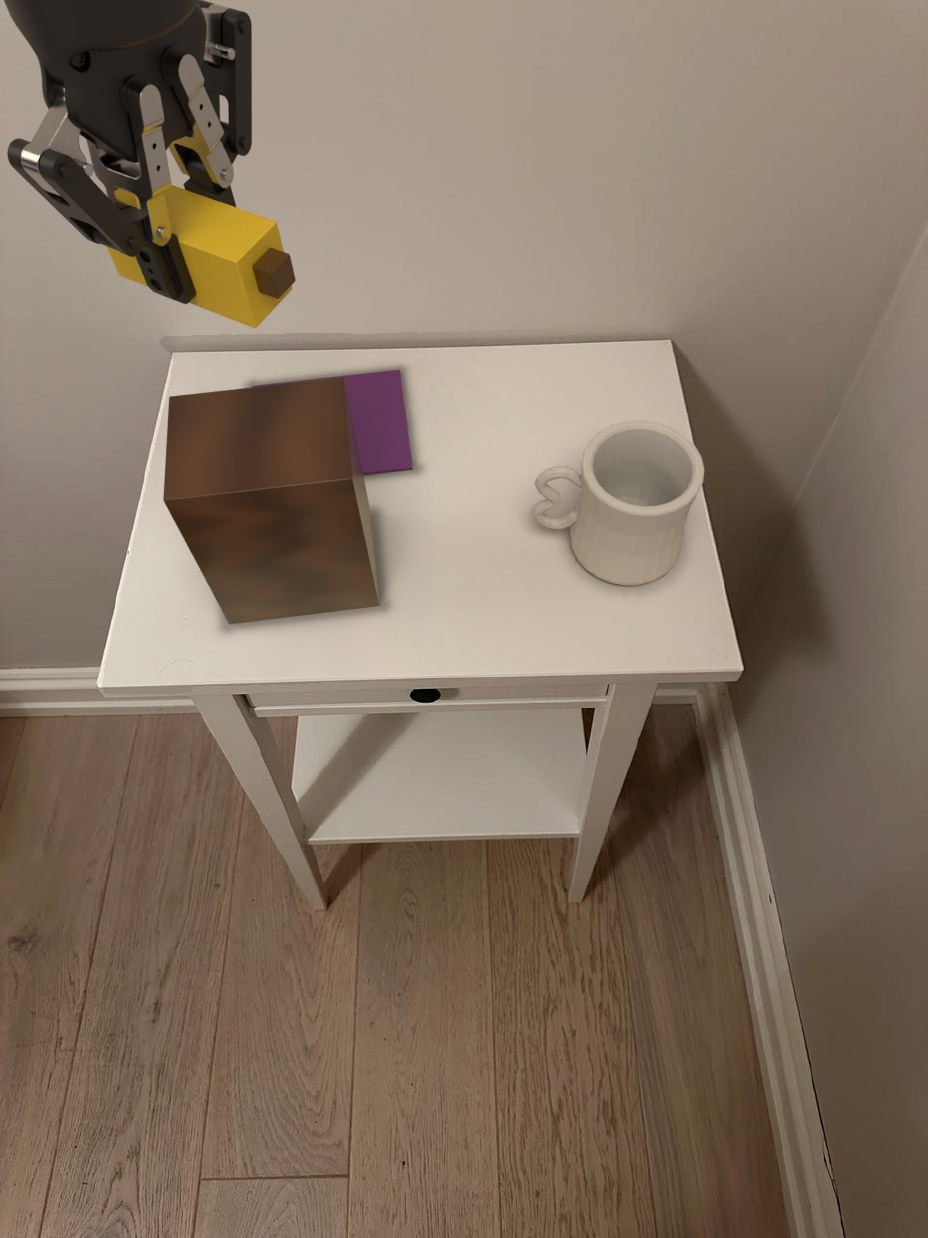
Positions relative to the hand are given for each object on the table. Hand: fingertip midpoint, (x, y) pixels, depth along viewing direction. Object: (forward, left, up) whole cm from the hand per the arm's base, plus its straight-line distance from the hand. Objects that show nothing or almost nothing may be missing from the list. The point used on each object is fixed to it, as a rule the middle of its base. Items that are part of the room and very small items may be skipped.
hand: (200, 271), depth 45 cm
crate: (0, 0, -29) cm, 29 cm away
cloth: (+3, +15, -29) cm, 33 cm away
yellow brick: (0, 0, -1) cm, 1 cm away
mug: (+25, -1, -29) cm, 38 cm away
